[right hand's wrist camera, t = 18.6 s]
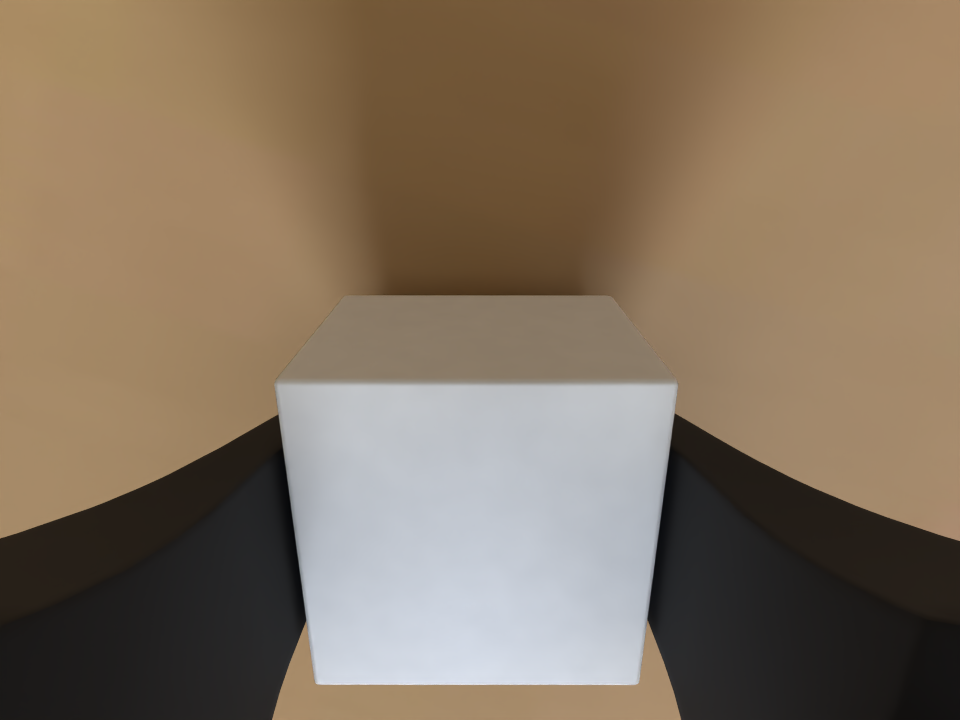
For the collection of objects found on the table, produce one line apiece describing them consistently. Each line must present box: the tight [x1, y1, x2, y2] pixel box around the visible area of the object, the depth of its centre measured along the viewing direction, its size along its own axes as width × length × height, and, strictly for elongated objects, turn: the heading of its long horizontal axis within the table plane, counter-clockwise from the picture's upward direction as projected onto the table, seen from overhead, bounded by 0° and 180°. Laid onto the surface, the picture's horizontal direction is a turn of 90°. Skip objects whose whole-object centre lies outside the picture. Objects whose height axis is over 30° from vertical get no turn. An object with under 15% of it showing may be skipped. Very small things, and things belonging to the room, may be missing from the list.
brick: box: [274, 295, 678, 685], centre depth 10 cm, size 5×5×4 cm
